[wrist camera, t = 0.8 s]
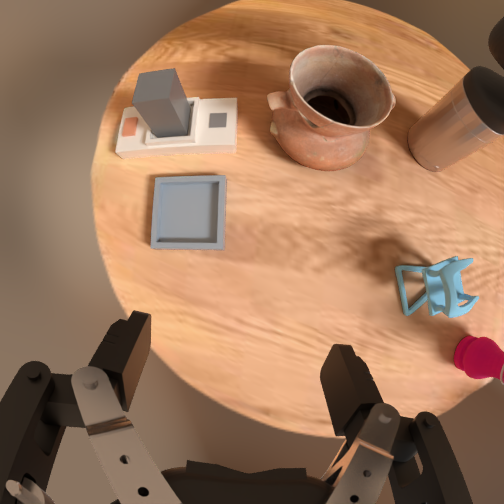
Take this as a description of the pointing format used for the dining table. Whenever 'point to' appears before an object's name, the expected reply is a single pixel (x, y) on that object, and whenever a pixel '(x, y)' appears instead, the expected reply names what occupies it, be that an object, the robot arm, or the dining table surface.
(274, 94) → the ceramic jug
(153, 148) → the white rectangular base
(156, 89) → the block
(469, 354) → the pepper mill
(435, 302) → the chair
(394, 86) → the dining table surface
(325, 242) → the dining table surface
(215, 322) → the dining table surface
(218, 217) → the tray
